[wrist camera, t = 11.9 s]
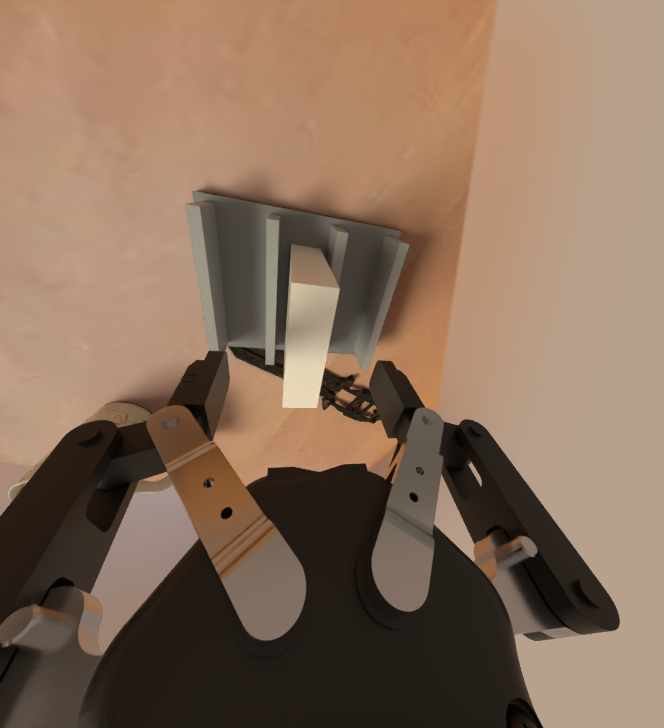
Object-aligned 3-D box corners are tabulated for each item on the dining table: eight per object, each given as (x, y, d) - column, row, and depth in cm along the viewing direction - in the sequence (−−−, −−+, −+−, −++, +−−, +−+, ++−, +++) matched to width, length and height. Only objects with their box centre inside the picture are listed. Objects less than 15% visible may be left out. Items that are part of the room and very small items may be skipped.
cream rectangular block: (285, 337, 25) (282, 407, 17) (291, 244, 19) (291, 282, 12) (308, 338, 25) (316, 407, 17) (320, 248, 20) (339, 288, 12)
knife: (214, 342, 26) (211, 349, 24) (247, 299, 23) (244, 305, 22) (363, 425, 38) (365, 432, 37) (394, 402, 36) (397, 409, 35)
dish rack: (216, 340, 25) (204, 365, 21) (196, 190, 17) (172, 191, 14) (362, 350, 28) (372, 373, 25) (397, 229, 21) (419, 238, 17)
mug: (89, 385, 26) (1, 472, 18) (207, 415, 31) (179, 492, 23) (84, 429, 30) (10, 516, 22) (191, 449, 35) (162, 525, 27)
